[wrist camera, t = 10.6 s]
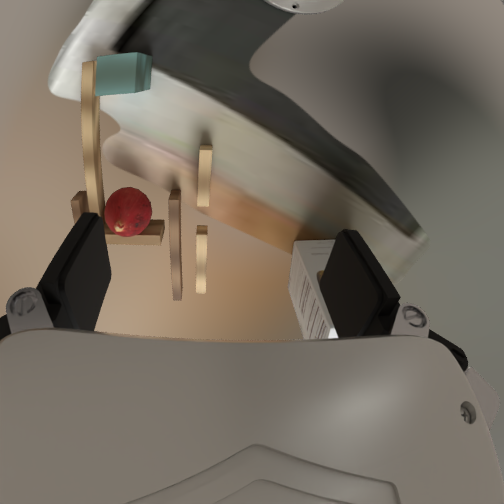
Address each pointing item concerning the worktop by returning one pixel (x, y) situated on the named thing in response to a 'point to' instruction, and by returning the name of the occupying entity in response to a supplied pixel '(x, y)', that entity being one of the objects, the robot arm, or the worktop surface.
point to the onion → (128, 212)
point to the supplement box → (310, 288)
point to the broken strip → (201, 234)
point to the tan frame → (92, 86)
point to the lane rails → (81, 205)
